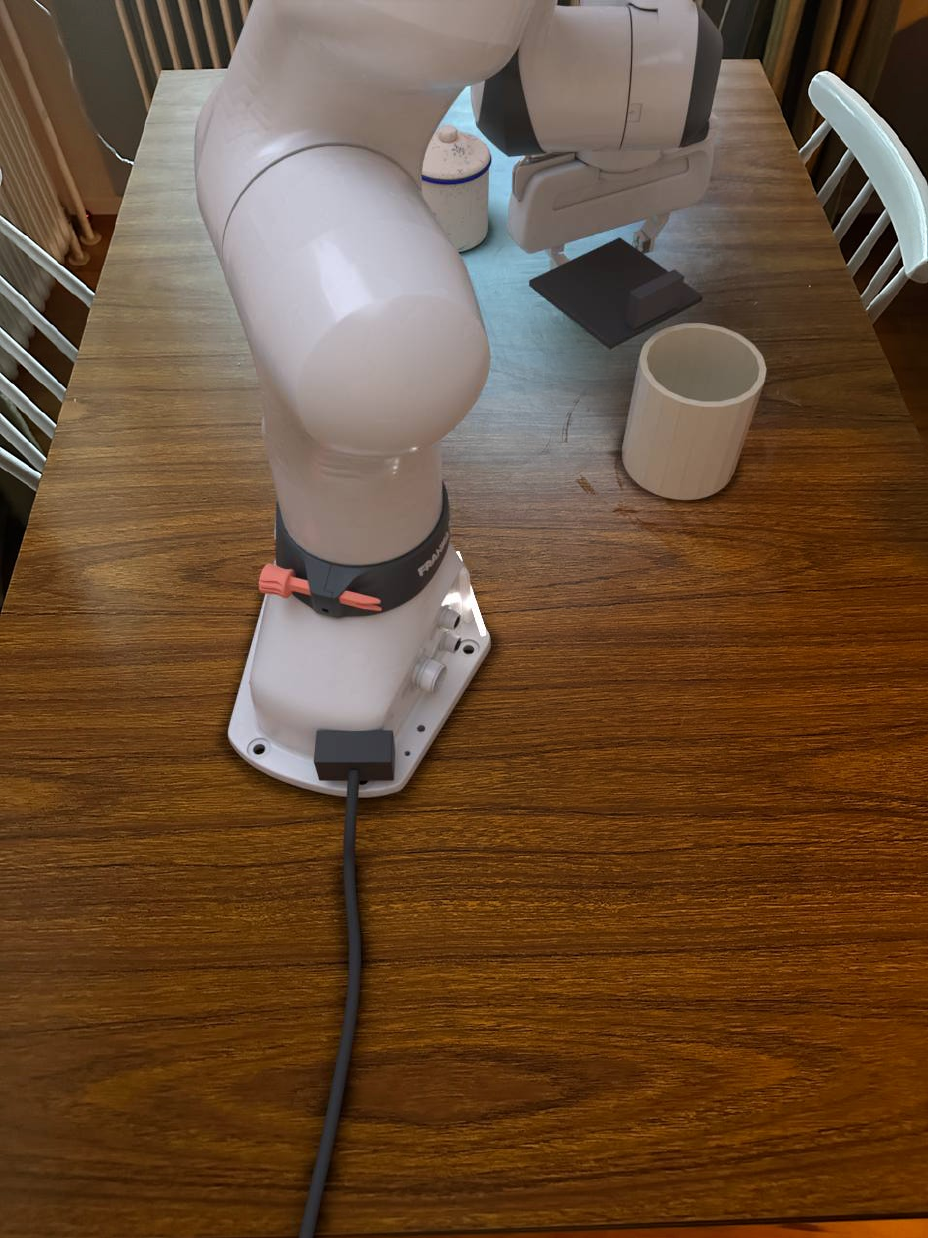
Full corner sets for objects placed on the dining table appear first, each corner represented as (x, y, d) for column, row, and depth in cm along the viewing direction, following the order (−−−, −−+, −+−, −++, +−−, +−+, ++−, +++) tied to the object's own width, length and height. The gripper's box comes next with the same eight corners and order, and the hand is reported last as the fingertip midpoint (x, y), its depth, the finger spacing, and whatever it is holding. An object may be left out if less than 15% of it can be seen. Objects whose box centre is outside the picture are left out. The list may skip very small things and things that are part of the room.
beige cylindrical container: (758, 466, 86) (792, 371, 77) (676, 517, 83) (702, 424, 74) (679, 404, 91) (702, 307, 82) (598, 450, 87) (614, 354, 78)
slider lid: (701, 301, 82) (710, 264, 79) (609, 350, 78) (615, 313, 75) (618, 242, 87) (624, 205, 84) (528, 285, 83) (530, 249, 80)
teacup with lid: (493, 210, 109) (496, 107, 100) (485, 258, 104) (487, 155, 94) (390, 204, 110) (382, 101, 100) (377, 251, 105) (368, 147, 95)
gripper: (530, 172, 80) (523, 310, 91) (735, 115, 84) (703, 253, 96) (497, 135, 83) (494, 273, 94) (695, 83, 88) (670, 220, 99)
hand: (601, 263), depth 95 cm, fingers open, 8 cm apart
